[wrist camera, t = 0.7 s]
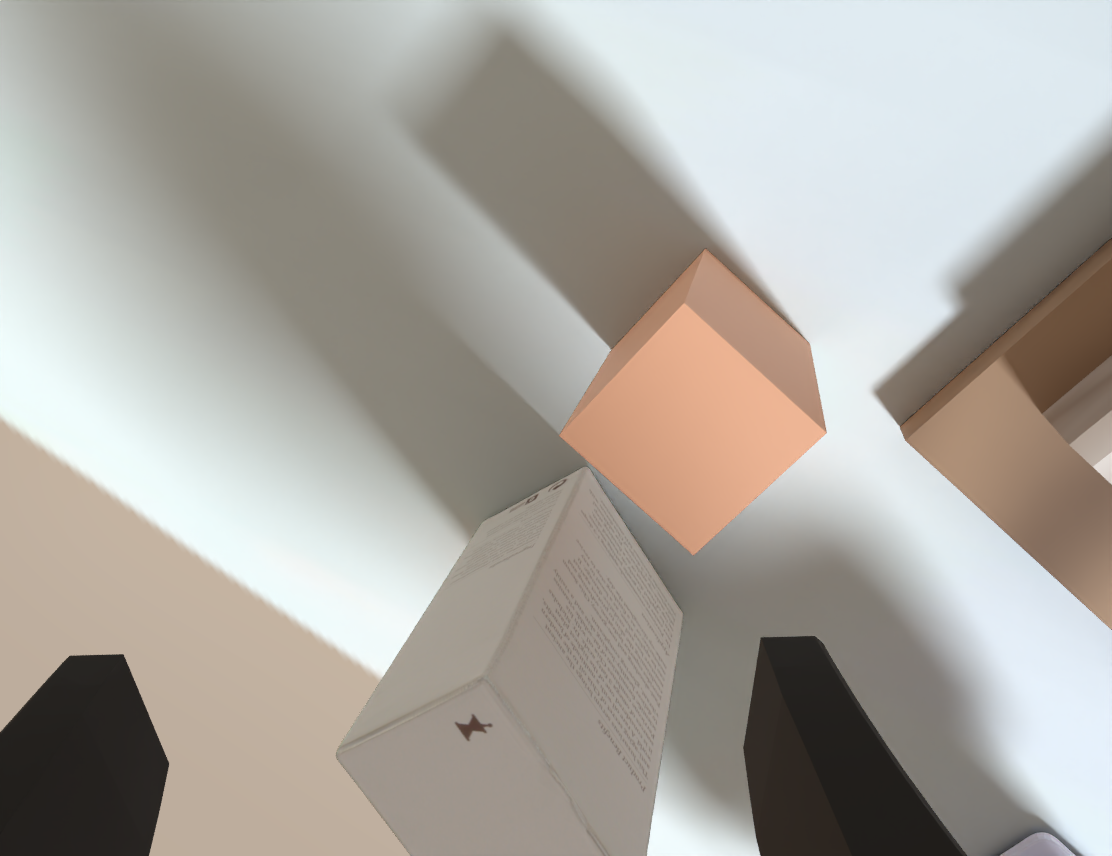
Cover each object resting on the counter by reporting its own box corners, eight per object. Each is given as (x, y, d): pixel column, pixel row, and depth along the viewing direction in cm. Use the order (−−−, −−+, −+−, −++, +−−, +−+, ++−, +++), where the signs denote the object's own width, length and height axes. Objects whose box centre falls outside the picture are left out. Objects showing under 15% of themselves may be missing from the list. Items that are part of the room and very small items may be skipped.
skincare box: (478, 520, 32) (322, 749, 20) (588, 460, 30) (486, 670, 19) (578, 670, 33) (482, 966, 22) (690, 618, 31) (649, 906, 20)
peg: (810, 343, 28) (826, 432, 20) (711, 439, 29) (693, 555, 22) (705, 248, 28) (683, 302, 20) (611, 349, 29) (559, 435, 22)
